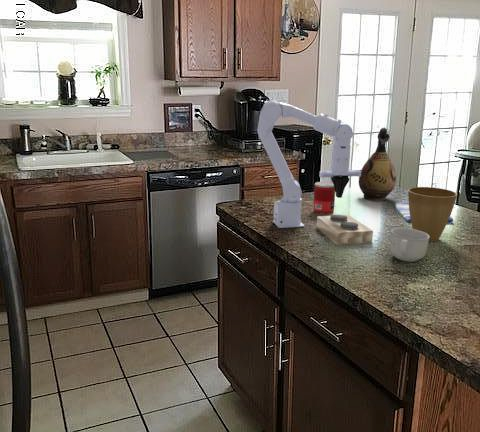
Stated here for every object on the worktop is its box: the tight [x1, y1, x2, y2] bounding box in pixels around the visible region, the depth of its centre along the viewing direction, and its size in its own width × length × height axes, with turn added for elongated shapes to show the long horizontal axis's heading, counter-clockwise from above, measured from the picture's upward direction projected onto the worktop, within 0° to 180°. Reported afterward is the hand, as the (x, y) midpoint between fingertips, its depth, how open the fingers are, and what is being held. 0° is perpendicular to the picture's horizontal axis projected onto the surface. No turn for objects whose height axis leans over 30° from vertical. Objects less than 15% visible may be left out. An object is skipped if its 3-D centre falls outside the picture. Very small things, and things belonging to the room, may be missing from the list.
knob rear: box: [330, 214, 347, 222], centre depth 180 cm, size 6×6×4 cm
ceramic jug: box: [358, 127, 397, 202], centre depth 223 cm, size 17×15×30 cm
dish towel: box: [394, 201, 454, 225], centre depth 202 cm, size 17×24×3 cm
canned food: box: [313, 181, 336, 215], centre depth 204 cm, size 8×8×11 cm
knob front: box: [341, 222, 358, 230], centre depth 172 cm, size 6×6×4 cm
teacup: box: [389, 227, 430, 263], centre depth 153 cm, size 14×11×8 cm
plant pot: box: [407, 186, 458, 243], centre depth 171 cm, size 15×15×16 cm
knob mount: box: [316, 214, 374, 246], centre depth 176 cm, size 12×19×4 cm, turn 12°
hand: (338, 197), depth 184 cm, fingers closed
